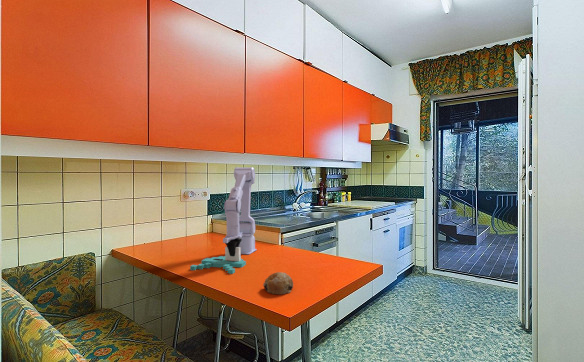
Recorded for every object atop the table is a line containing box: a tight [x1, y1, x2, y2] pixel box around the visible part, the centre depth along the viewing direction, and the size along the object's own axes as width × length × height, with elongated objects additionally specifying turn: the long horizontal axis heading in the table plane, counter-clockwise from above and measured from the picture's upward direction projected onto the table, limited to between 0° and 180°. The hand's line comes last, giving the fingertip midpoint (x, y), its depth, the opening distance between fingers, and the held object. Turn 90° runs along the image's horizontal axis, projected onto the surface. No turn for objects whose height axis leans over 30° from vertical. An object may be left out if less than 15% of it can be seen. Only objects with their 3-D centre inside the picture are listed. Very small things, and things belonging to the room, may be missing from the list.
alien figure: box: [189, 255, 247, 275], centre depth 144 cm, size 20×2×20 cm
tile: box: [224, 245, 242, 261], centre depth 145 cm, size 2×7×6 cm, turn 72°
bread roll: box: [262, 271, 294, 295], centre depth 114 cm, size 10×10×8 cm
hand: (233, 255), depth 145 cm, fingers closed on tile, 2 cm apart
